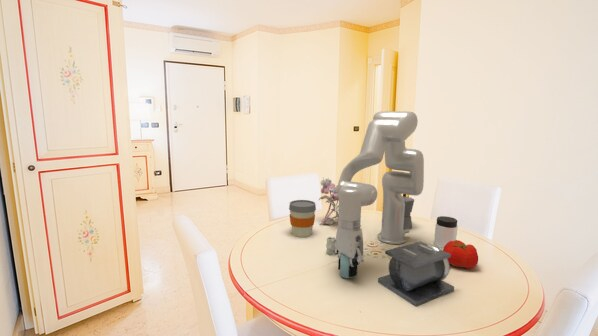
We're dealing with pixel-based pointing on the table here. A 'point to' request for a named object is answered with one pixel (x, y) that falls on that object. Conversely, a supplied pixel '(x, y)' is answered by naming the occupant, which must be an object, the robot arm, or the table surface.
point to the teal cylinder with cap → (345, 266)
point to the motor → (417, 272)
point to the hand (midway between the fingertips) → (347, 271)
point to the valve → (331, 246)
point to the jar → (445, 230)
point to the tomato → (461, 254)
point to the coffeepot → (407, 212)
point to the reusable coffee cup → (302, 217)
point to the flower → (330, 200)
